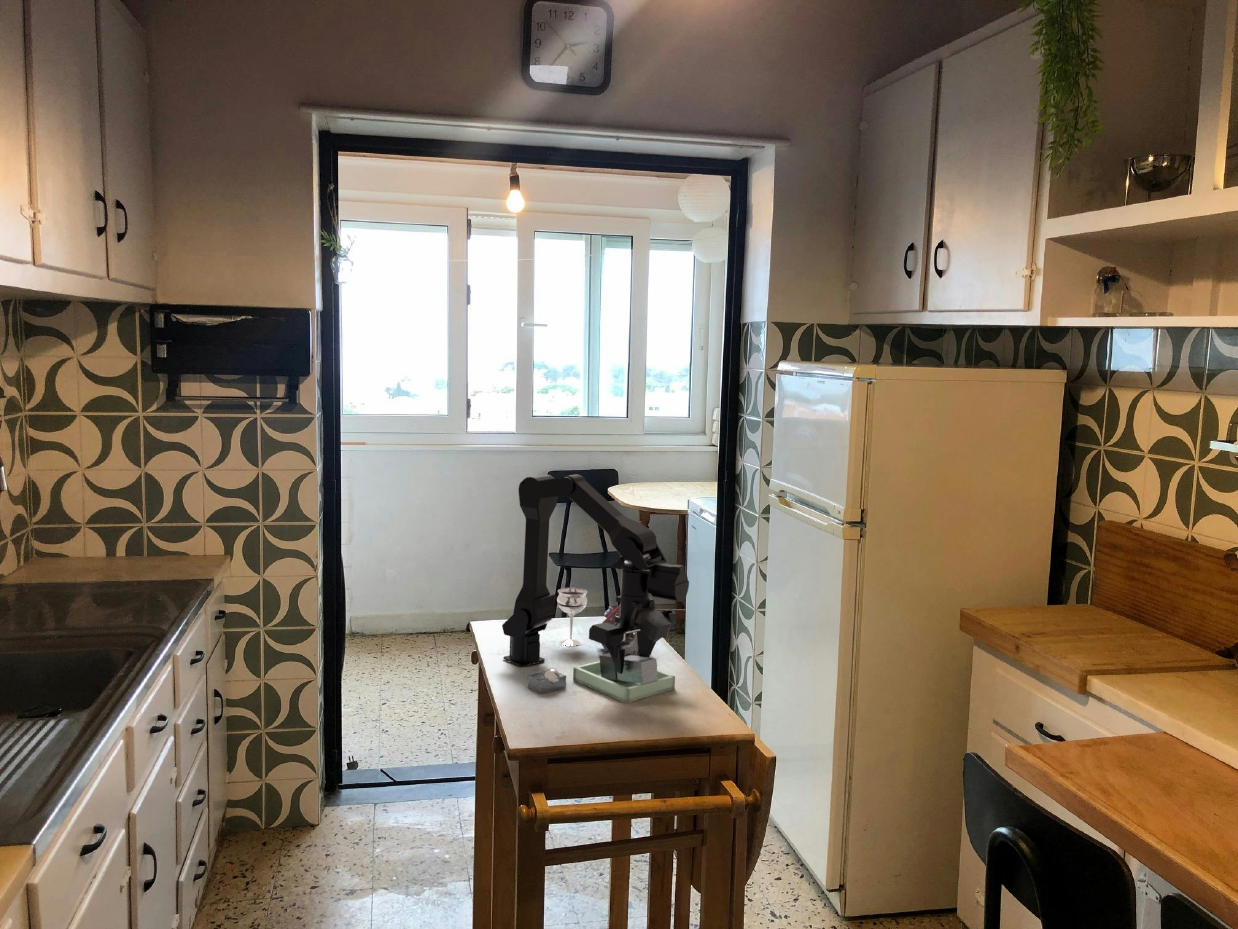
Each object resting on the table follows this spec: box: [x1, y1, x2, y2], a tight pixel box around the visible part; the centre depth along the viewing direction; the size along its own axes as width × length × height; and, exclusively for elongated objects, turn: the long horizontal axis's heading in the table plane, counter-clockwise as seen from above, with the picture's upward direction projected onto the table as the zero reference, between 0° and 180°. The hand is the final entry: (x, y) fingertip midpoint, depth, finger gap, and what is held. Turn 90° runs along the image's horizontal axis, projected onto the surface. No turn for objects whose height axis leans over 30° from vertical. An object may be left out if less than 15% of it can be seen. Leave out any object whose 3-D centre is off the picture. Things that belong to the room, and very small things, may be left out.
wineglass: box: [556, 587, 588, 647], centre depth 214 cm, size 7×7×12 cm
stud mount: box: [527, 668, 567, 695], centre depth 185 cm, size 5×6×4 cm
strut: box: [599, 652, 658, 684], centre depth 188 cm, size 12×4×4 cm, turn 42°
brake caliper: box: [601, 604, 639, 656], centre depth 211 cm, size 11×11×12 cm
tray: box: [572, 660, 676, 704], centre depth 189 cm, size 16×13×3 cm
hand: (631, 670), depth 187 cm, fingers open, 6 cm apart
